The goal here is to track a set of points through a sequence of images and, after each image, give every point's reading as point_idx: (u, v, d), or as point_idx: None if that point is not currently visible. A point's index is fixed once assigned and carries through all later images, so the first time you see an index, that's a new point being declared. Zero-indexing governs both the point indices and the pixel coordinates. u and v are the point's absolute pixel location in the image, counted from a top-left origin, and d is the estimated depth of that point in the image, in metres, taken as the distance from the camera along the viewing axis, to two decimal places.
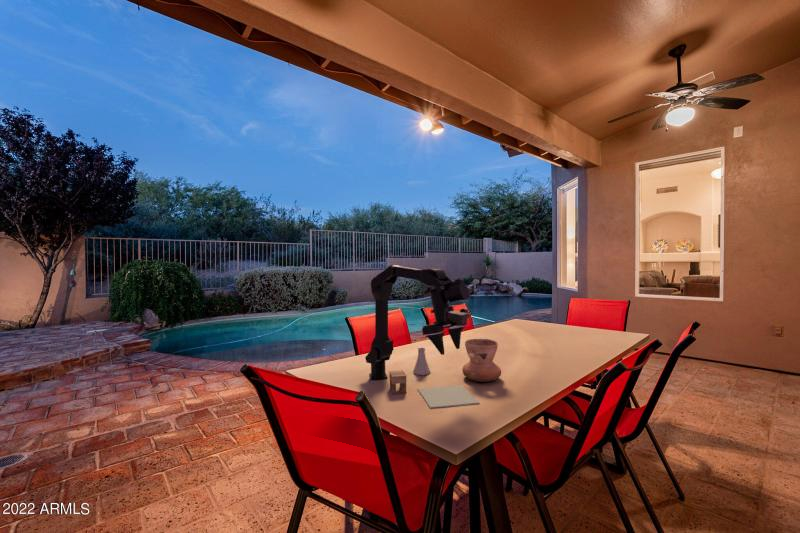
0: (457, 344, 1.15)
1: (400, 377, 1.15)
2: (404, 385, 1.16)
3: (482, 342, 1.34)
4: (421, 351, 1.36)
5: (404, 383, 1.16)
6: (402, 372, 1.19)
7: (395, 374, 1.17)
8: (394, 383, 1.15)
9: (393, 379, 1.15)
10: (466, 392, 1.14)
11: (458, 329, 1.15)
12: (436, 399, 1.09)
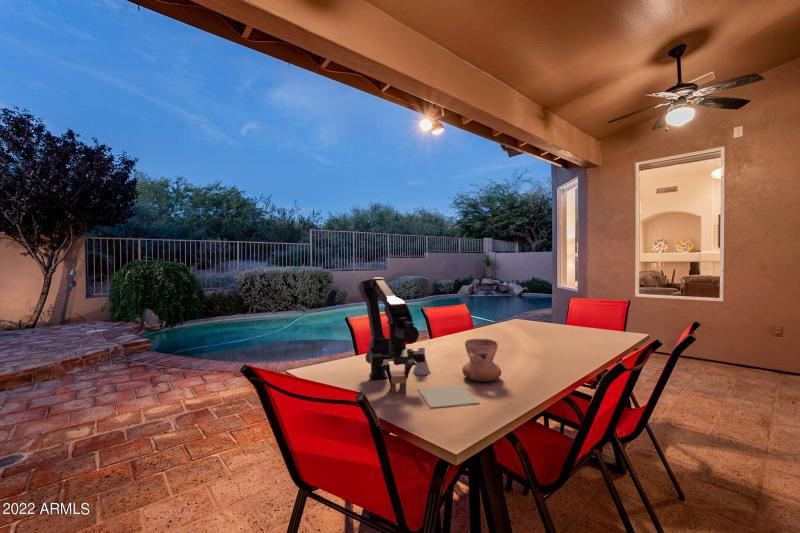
0: None
1: (400, 377, 1.15)
2: (404, 385, 1.16)
3: (482, 342, 1.34)
4: (421, 351, 1.36)
5: (404, 383, 1.16)
6: (402, 372, 1.19)
7: (395, 374, 1.17)
8: (394, 383, 1.15)
9: (393, 379, 1.15)
10: (466, 392, 1.14)
11: (407, 364, 1.17)
12: (436, 399, 1.09)
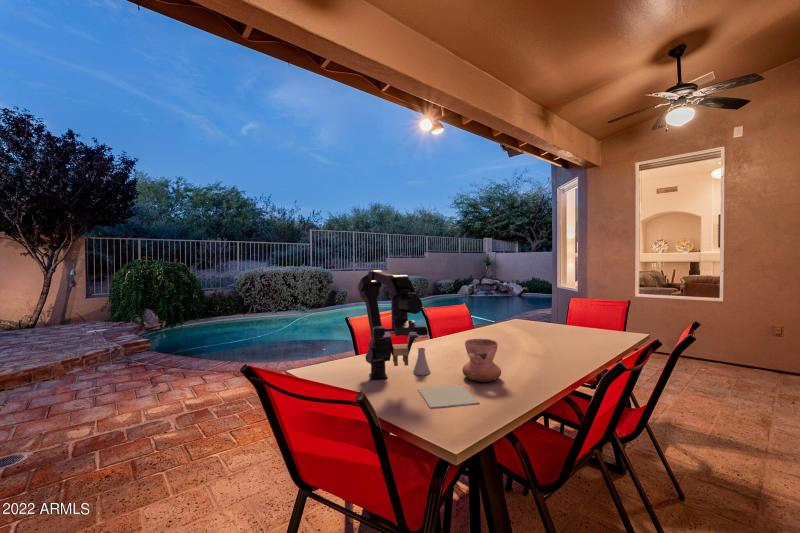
0: None
1: (402, 349, 1.15)
2: (406, 357, 1.15)
3: (482, 342, 1.34)
4: (421, 351, 1.36)
5: (406, 355, 1.15)
6: (405, 345, 1.19)
7: (397, 346, 1.17)
8: (396, 355, 1.15)
9: (395, 351, 1.15)
10: (466, 392, 1.14)
11: (409, 337, 1.17)
12: (436, 399, 1.09)
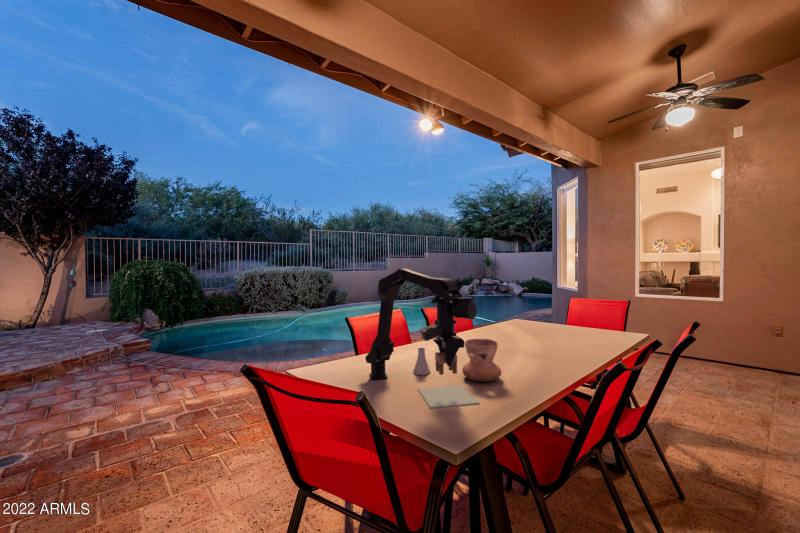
0: None
1: (437, 356, 1.11)
2: (439, 366, 1.10)
3: (482, 342, 1.34)
4: (421, 351, 1.36)
5: (439, 364, 1.10)
6: None
7: (442, 353, 1.13)
8: (436, 360, 1.13)
9: (435, 355, 1.14)
10: (466, 392, 1.14)
11: None
12: (436, 399, 1.09)
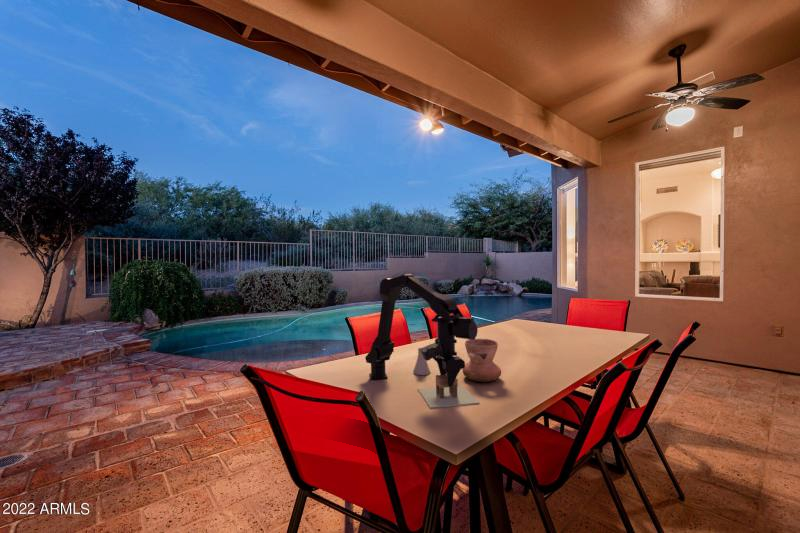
0: None
1: (438, 379, 1.11)
2: (439, 390, 1.10)
3: (482, 342, 1.34)
4: None
5: (439, 387, 1.10)
6: None
7: (443, 376, 1.13)
8: (436, 383, 1.13)
9: (436, 378, 1.14)
10: (466, 392, 1.14)
11: None
12: (436, 399, 1.09)
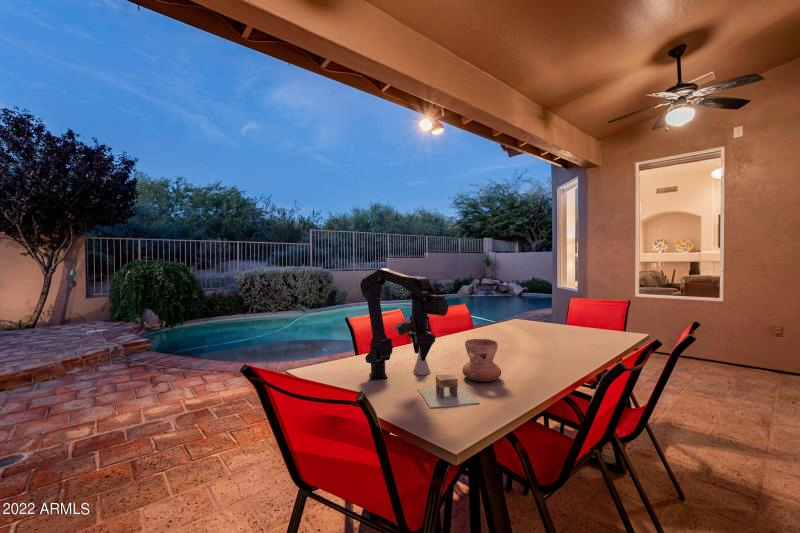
0: None
1: (438, 379, 1.11)
2: (439, 390, 1.10)
3: (482, 342, 1.34)
4: None
5: (439, 387, 1.10)
6: (449, 378, 1.11)
7: (443, 376, 1.13)
8: (436, 383, 1.13)
9: (436, 378, 1.14)
10: (466, 392, 1.14)
11: None
12: (436, 399, 1.09)
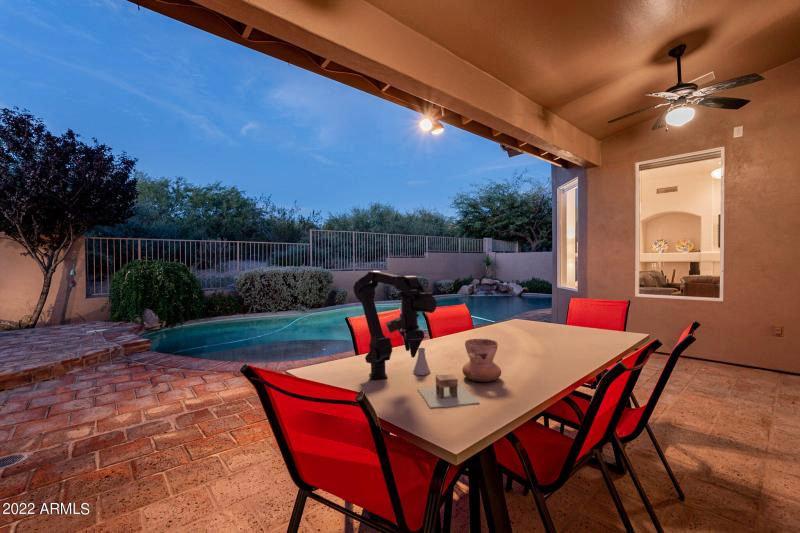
0: None
1: (438, 379, 1.11)
2: (439, 390, 1.10)
3: (482, 342, 1.34)
4: (421, 351, 1.36)
5: (439, 387, 1.10)
6: (449, 378, 1.11)
7: (443, 376, 1.13)
8: (436, 383, 1.13)
9: (436, 378, 1.14)
10: (466, 392, 1.14)
11: None
12: (436, 399, 1.09)
